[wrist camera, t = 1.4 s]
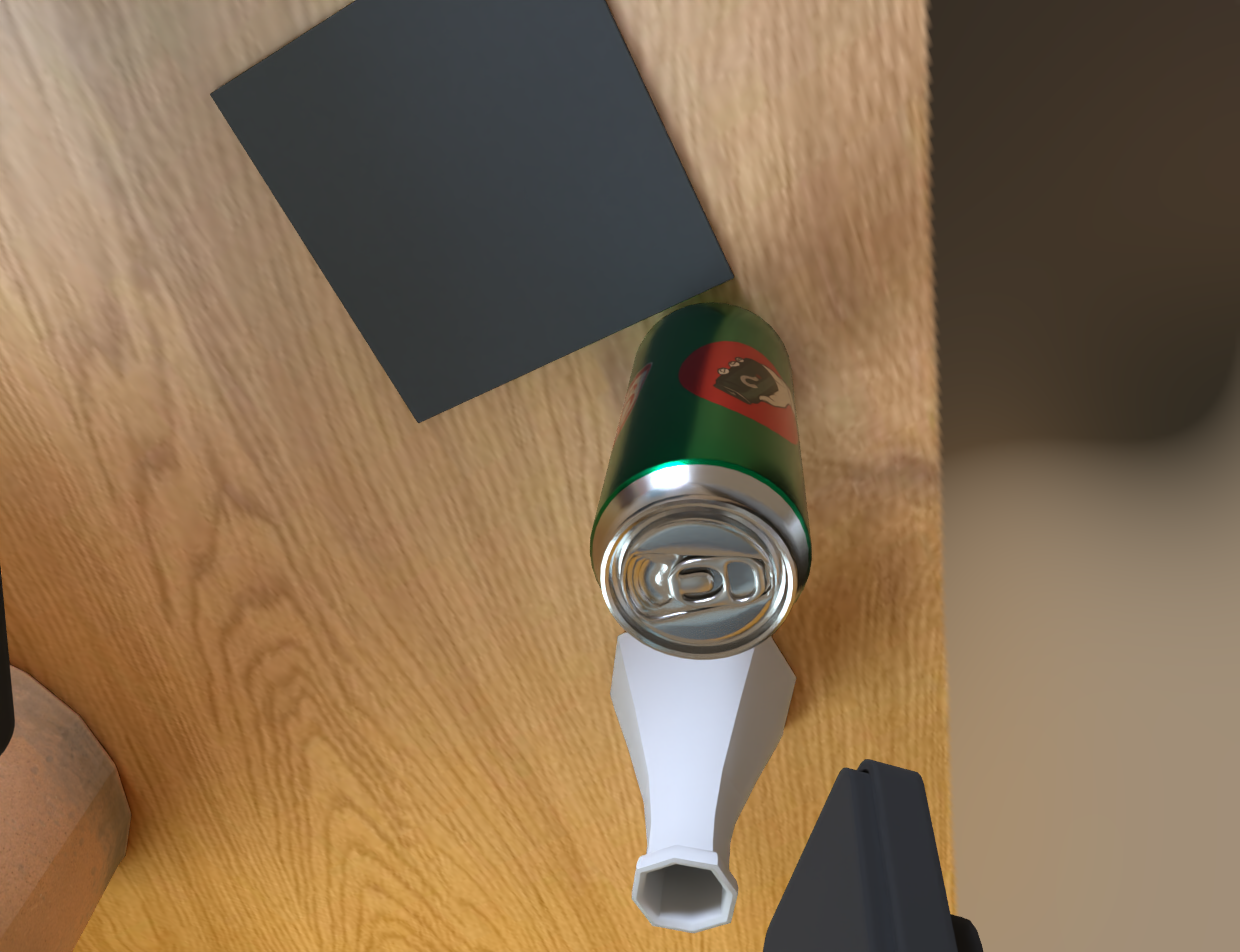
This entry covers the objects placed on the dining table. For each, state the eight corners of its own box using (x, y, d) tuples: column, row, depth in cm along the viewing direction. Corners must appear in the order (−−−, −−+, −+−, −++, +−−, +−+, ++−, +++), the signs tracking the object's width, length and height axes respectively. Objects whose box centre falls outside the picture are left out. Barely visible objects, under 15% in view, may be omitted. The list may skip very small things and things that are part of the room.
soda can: (621, 308, 31) (560, 497, 21) (782, 285, 30) (803, 470, 20) (648, 448, 33) (606, 681, 23) (798, 430, 32) (825, 666, 22)
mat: (548, -122, 26) (547, -123, 26) (734, 276, 30) (734, 278, 30) (212, 93, 30) (209, 94, 30) (419, 421, 34) (417, 423, 34)
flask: (630, 759, 40) (593, 981, 31) (590, 614, 37) (537, 814, 28) (808, 746, 38) (823, 976, 29) (782, 593, 35) (790, 798, 26)
